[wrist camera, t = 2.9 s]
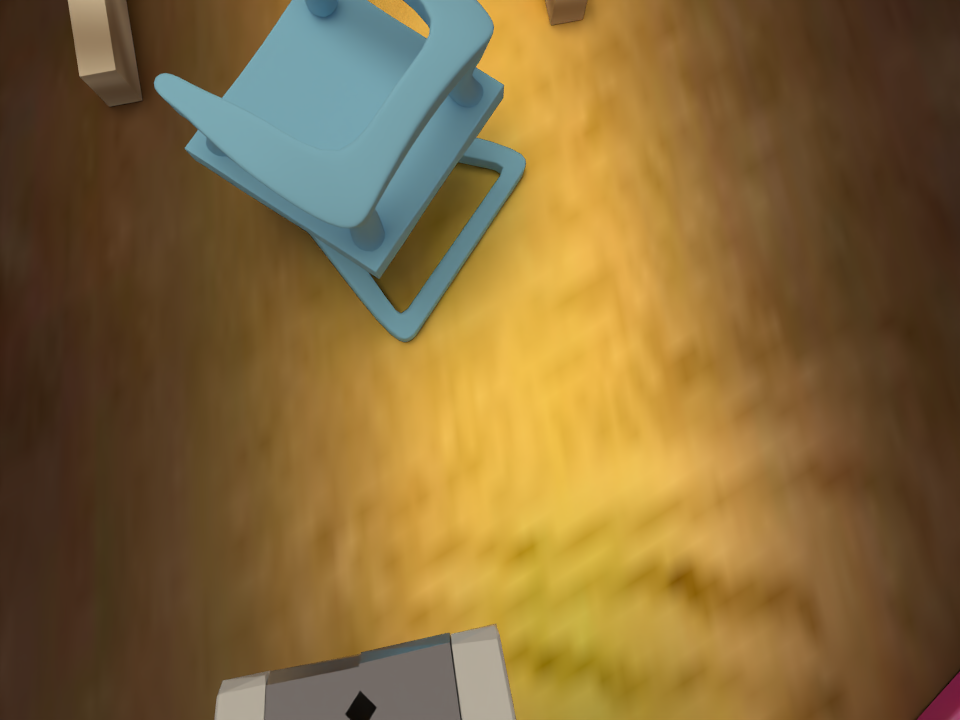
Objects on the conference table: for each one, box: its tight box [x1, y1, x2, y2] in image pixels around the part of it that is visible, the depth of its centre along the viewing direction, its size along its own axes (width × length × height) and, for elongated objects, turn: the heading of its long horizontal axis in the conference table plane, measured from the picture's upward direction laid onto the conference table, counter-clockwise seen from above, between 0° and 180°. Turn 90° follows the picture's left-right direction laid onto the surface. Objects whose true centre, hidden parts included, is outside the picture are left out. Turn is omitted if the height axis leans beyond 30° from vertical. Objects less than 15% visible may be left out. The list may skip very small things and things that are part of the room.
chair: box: [154, 0, 526, 342], centre depth 27 cm, size 8×8×12 cm
